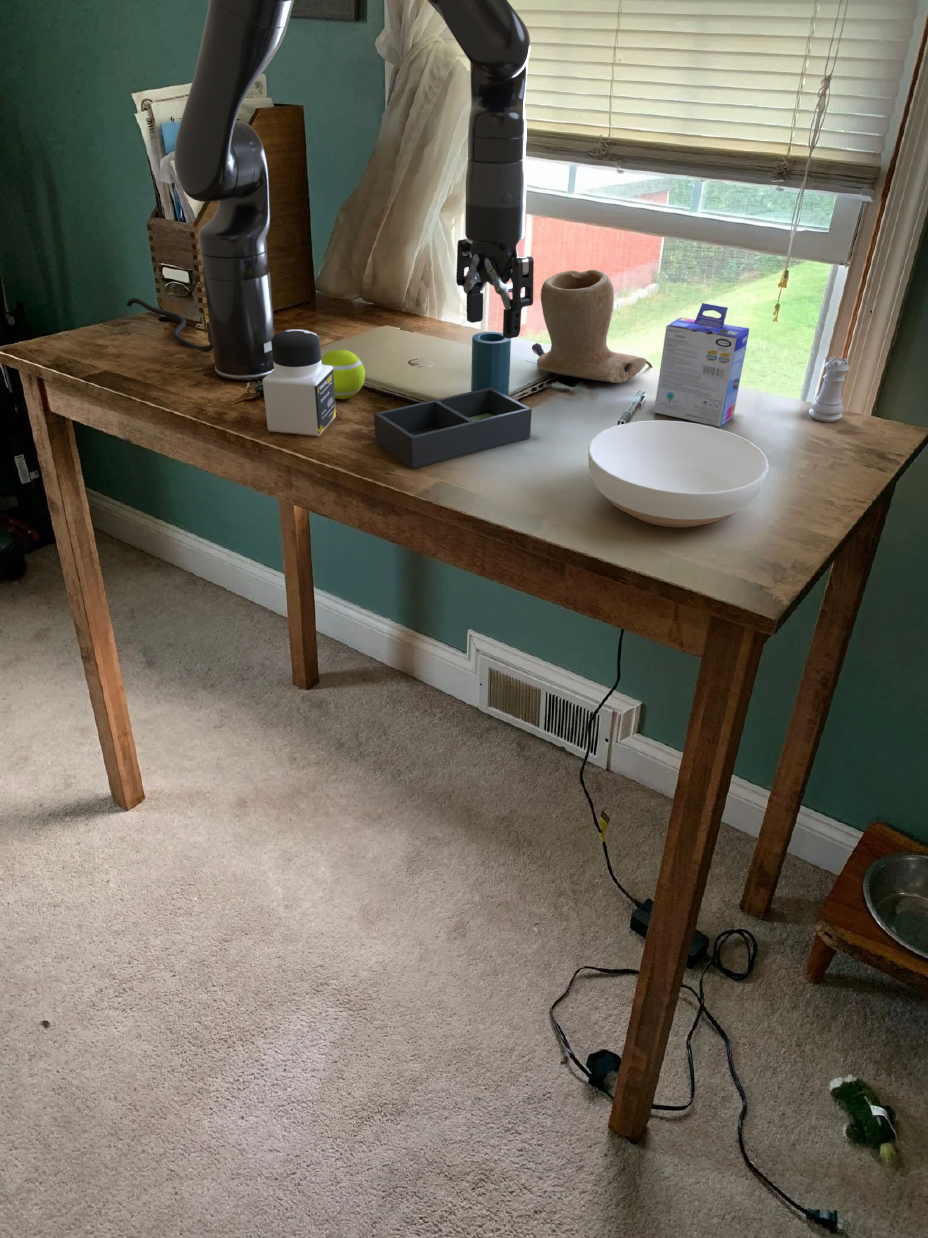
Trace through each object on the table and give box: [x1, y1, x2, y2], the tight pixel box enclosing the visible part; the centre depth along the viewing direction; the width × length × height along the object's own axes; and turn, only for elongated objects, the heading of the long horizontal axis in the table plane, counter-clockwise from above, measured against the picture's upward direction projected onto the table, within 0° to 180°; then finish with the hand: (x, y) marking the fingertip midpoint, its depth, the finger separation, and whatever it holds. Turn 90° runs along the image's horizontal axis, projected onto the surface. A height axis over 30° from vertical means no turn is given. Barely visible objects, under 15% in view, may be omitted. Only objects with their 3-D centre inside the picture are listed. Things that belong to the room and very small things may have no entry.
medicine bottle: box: [262, 328, 337, 437], centre depth 121 cm, size 7×7×12 cm
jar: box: [470, 331, 512, 397], centre depth 130 cm, size 5×5×9 cm
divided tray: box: [373, 387, 533, 470], centre depth 120 cm, size 9×18×4 cm, turn 124°
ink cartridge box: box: [653, 302, 750, 428], centre depth 125 cm, size 10×6×14 cm, turn 58°
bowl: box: [587, 419, 770, 528], centre depth 105 cm, size 20×20×6 cm
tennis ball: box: [321, 348, 366, 400], centre depth 131 cm, size 7×7×7 cm
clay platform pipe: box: [536, 269, 647, 384], centre depth 138 cm, size 15×12×15 cm
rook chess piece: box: [808, 356, 851, 423], centre depth 127 cm, size 4×4×8 cm
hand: (492, 328), depth 127 cm, fingers open, 8 cm apart
